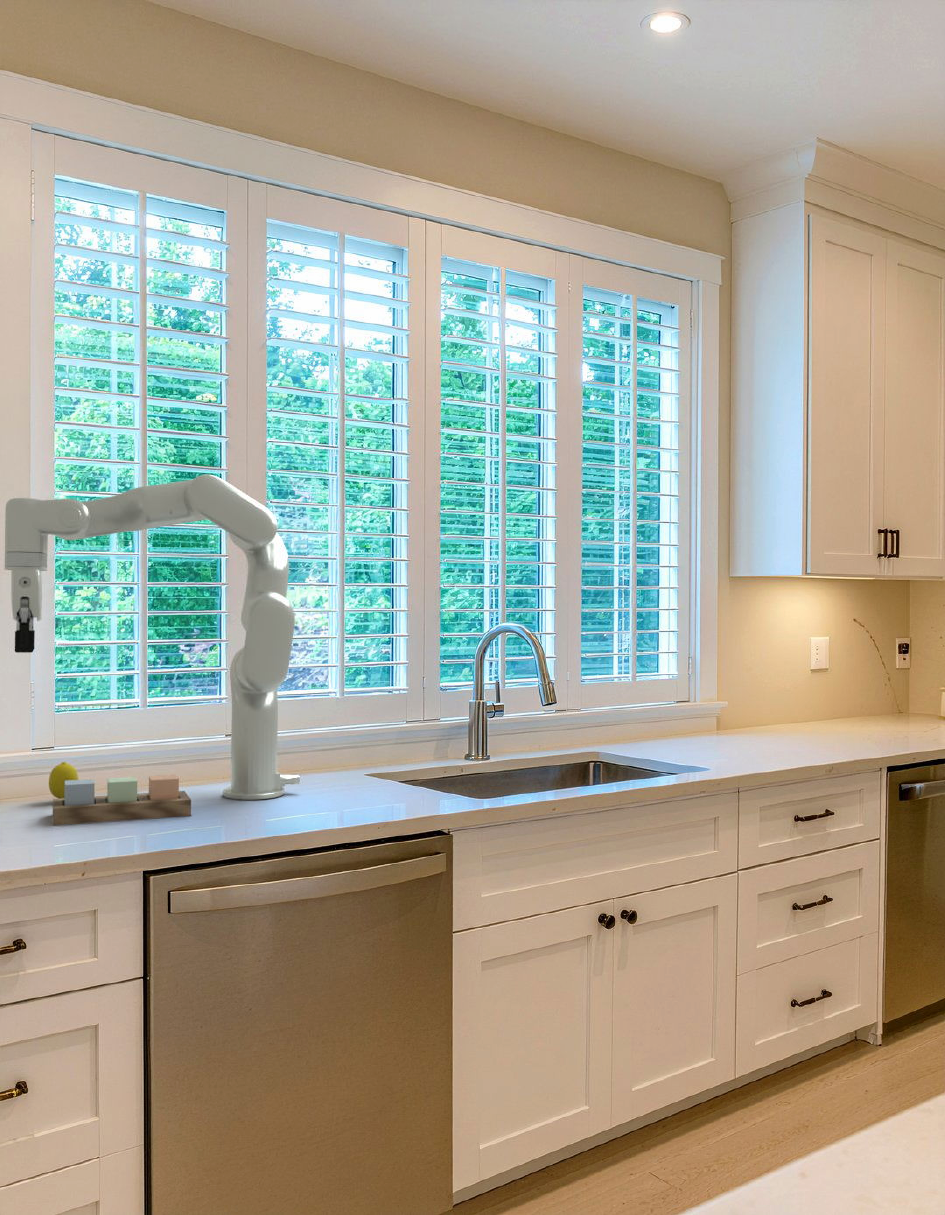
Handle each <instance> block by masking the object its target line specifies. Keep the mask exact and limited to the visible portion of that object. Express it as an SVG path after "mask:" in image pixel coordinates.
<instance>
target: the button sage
mask: <svg viewBox="0 0 945 1215" xmlns="http://www.w3.org/2000/svg"><path fill="white" fill-rule="evenodd" d="M106 780H107V782H106V783H107V789H106V790H107V793H106V794H107V795H106V796H107V803H116V802H132V801H137V794H138V780H137V777H136V776H126V777H108V778H107V779H106Z"/></svg>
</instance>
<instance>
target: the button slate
mask: <svg viewBox="0 0 945 1215" xmlns="http://www.w3.org/2000/svg"><path fill="white" fill-rule="evenodd" d="M94 796H95V780H94V778H92V779H91V778H89V779H78V780H67V781H65V806H69V805H85V804H94Z"/></svg>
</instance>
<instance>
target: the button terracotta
mask: <svg viewBox="0 0 945 1215" xmlns="http://www.w3.org/2000/svg"><path fill="white" fill-rule="evenodd" d="M179 787H180V779H179V777H178V775H177V774H165V775H149V776H148V793H149V800H164V799H179V791H180V790H179V789H180V788H179Z"/></svg>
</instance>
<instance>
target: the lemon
mask: <svg viewBox="0 0 945 1215" xmlns="http://www.w3.org/2000/svg"><path fill="white" fill-rule="evenodd" d="M67 780H79V774H78V771H77V770H76V768H75V767H74V766H73V765H72V764H69V763H68V762H66V761H62V762H61V763H60V764H58V765H56V766H55V767H54V768H53V769H52V770H51V771H50V774H49V777H48V789H49V792H50V794H51V795H53V797H54V798H55V799H57V798H65V781H67Z"/></svg>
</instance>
